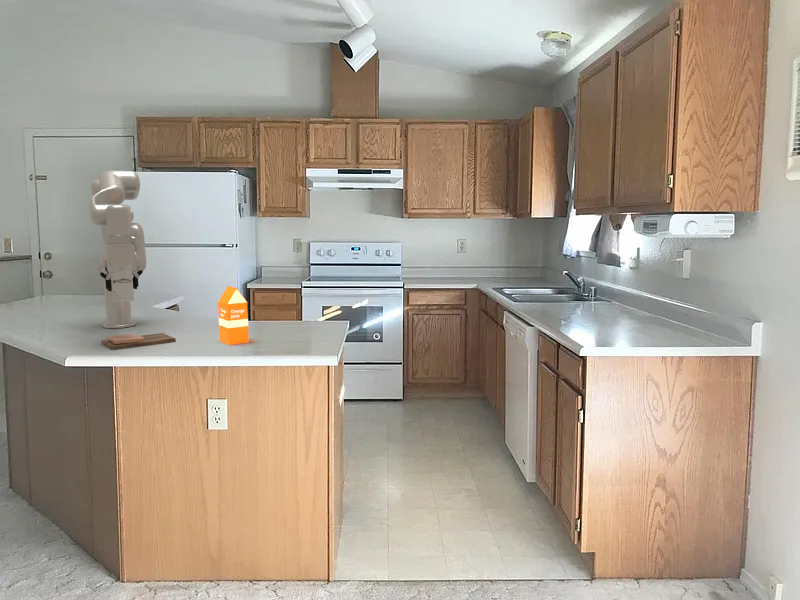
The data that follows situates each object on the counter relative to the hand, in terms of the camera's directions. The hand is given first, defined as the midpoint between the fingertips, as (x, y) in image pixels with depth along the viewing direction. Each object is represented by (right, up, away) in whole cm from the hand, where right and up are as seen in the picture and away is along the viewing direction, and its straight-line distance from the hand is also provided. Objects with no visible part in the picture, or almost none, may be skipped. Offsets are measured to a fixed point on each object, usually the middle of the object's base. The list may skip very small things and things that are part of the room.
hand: (122, 289), depth 239 cm
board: (+4, -19, +5) cm, 20 cm away
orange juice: (+38, -19, +6) cm, 43 cm away
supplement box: (-1, -4, +2) cm, 4 cm away
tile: (+1, -17, +2) cm, 17 cm away
